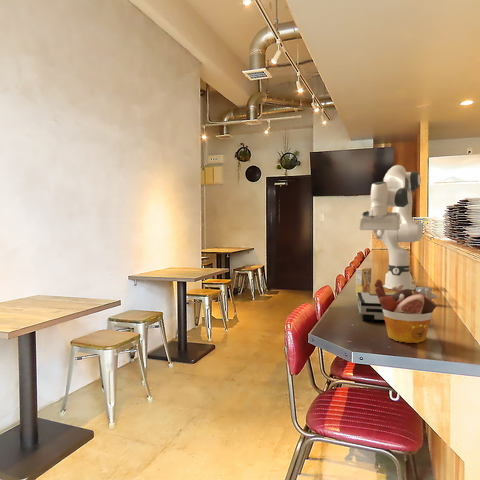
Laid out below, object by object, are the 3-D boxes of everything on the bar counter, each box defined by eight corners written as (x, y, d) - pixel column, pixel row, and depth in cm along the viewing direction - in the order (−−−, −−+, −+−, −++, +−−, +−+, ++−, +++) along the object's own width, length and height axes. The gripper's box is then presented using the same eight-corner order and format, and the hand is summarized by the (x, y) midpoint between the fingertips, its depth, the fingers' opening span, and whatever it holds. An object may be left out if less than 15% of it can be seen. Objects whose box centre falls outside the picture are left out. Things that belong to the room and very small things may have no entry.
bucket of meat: (436, 335, 137) (436, 279, 136) (438, 349, 122) (439, 285, 121) (375, 329, 145) (376, 276, 144) (371, 342, 130) (371, 282, 129)
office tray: (404, 308, 182) (404, 291, 182) (417, 326, 151) (417, 305, 151) (357, 306, 187) (357, 289, 187) (360, 323, 156) (360, 302, 156)
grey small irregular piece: (417, 302, 196) (417, 286, 196) (432, 304, 192) (433, 287, 191) (414, 304, 190) (414, 288, 190) (429, 306, 186) (430, 289, 186)
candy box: (364, 294, 217) (364, 267, 217) (371, 295, 214) (371, 267, 213) (355, 296, 212) (355, 268, 211) (362, 297, 208) (362, 269, 208)
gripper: (401, 212, 202) (401, 239, 203) (362, 213, 215) (362, 238, 215) (398, 212, 197) (397, 239, 198) (358, 212, 210) (358, 238, 210)
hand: (379, 239), depth 207 cm, fingers closed
